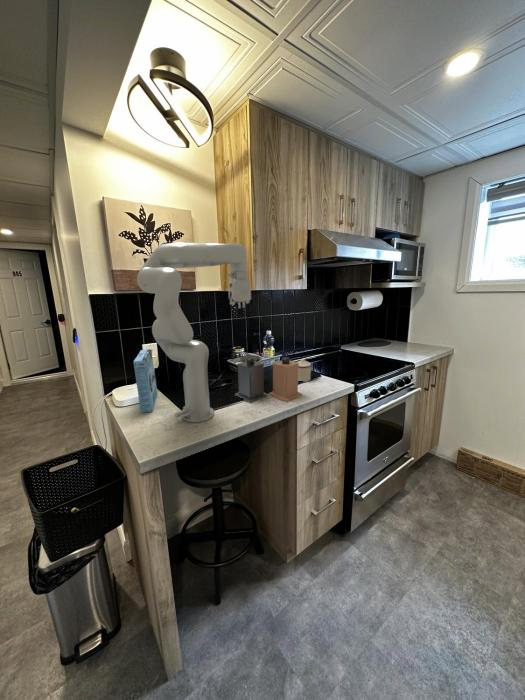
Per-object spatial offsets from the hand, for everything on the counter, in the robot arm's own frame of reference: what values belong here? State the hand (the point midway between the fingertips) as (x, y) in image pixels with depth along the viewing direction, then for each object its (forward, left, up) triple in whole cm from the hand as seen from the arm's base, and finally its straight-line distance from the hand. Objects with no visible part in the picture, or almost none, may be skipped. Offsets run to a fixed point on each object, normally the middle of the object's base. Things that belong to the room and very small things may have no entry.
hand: (240, 316), depth 128 cm
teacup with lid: (+33, -11, -37) cm, 51 cm away
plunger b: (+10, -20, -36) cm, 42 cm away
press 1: (-2, -9, -37) cm, 38 cm away
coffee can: (+9, +4, -37) cm, 39 cm away
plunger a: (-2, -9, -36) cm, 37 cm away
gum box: (-40, +18, -37) cm, 58 cm away
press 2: (+10, -20, -37) cm, 43 cm away
